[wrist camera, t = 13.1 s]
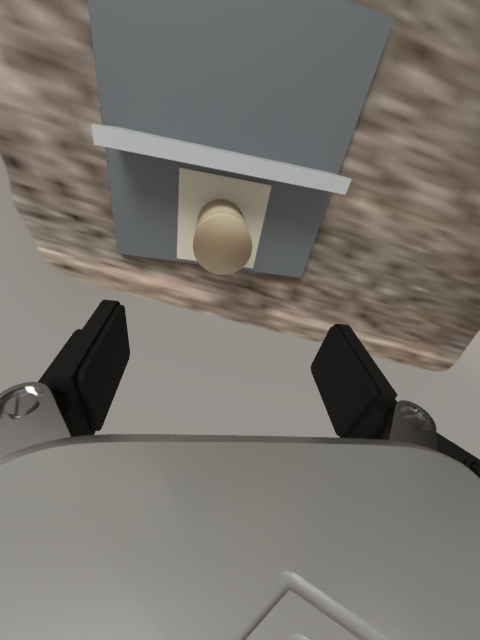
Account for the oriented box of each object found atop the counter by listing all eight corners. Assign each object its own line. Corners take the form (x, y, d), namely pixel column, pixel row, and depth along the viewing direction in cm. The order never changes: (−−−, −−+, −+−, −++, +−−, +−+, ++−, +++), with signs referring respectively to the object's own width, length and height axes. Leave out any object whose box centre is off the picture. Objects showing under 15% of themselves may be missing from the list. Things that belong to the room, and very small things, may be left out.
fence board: (83, -82, 16) (25, -180, 11) (387, 22, 19) (444, -16, 14) (120, 250, 28) (101, 273, 23) (299, 274, 32) (313, 298, 27)
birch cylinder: (199, 194, 24) (194, 211, 19) (248, 203, 25) (257, 222, 20) (196, 243, 27) (190, 271, 22) (240, 250, 28) (246, 278, 22)
